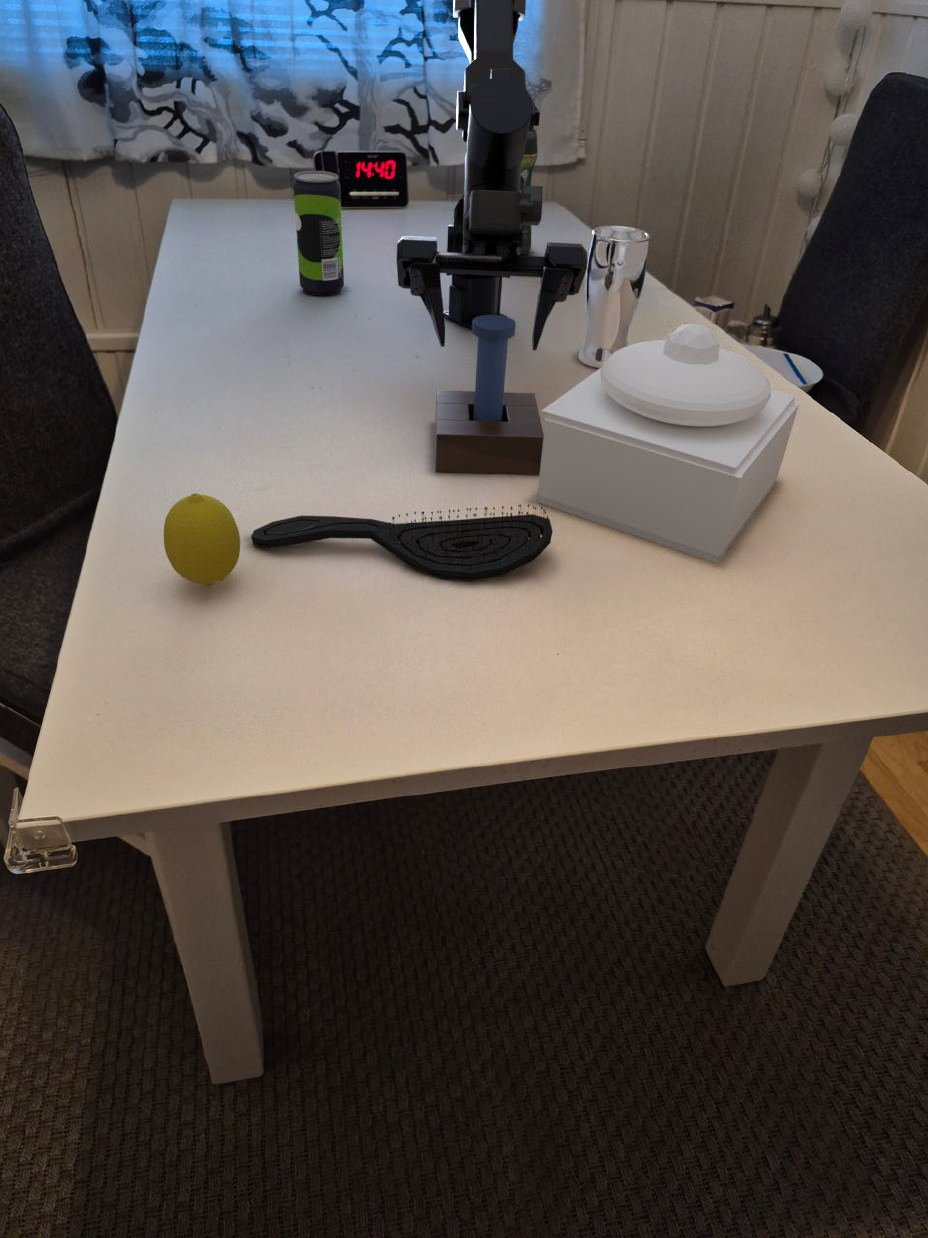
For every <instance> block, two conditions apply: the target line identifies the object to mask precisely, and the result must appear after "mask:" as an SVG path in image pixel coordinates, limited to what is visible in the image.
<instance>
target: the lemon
mask: <svg viewBox="0 0 928 1238" xmlns="http://www.w3.org/2000/svg"><path fill="white" fill-rule="evenodd" d="M163 547H164V551H165V554H166V557H167V559H168V562H169V563H170V565H171V567H172V568H173V570H174V572H176V573H177V574H178V575H179V576H181V578H183V579H185V580H187V581H189V582H190V583H191V582H192V583H195V584H198V585H199V584H201V585H205V586H212V585H213V584H215V583H218V582H220V581H222V580H224V579H225V578H227V577H228V576H229V575H230V574H231V573H232V572H233V570H234V569H235V567H236V565H237V564H238V561H239V558H240V554H241V553H240V552H241V536H240V530H239V527H238V526H237V523H236V520H235V518H234V515H233V514H232V512H231V511H230V509H229V508H228V507H227V506H226V505H225V504H224V503H223V502H222V501H220V500H219V499H217V498H215V497H213V496H211V495H207V494H200V493H197V492H194V493H192V494H190V495H188V496H185V497H183V498H181V499H179V500H178V501H177V502H175V503H174V504H173V506H172V507H171V508H170V509H169V510H168V513H167V514H166V517H165V520H164V524H163Z"/></svg>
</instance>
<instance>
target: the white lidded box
mask: <svg viewBox="0 0 928 1238" xmlns="http://www.w3.org/2000/svg"><path fill="white" fill-rule="evenodd" d="M720 344H721V343H720V341H719V340H718V338H717V336H716V335H715V334H714V332H713V331H712V330H711V328H708V327H707V326H705V325H703V324H702V323H683V324H681V325H680V326H679V327H678V328H676V329H675V330H673V331H672V332H671V333H669V334H668V336H667V338H666V339H659V340H658V339H656V340H655V339H654V340H647V341H641V342H636V343H633V344H630V345H627V347H624V348H621V349H620V350H618V351H616V352H614V353H613V354H612V355H610V356H609V357H608V358H607V359H606V360H605V361H604V363H603V365H602V367H601V368H598V369H597V370H596V371H594V372H592V374H590V375H589V376H587V377H586V378H584V380H582V381H581V382H579V383H578V384H576V385H575V386H574V387H572V388H571V389H570V390H568V391H567V392H565V393H564V394H563V395H561V396H560V397H558V398H557V399H555V400H554V401H552V402H551V403H550V404H549V405H547V406H546V407H544V408H543V409H542V410H541V414H540V420H545V422H544V428H543V429H544V430H543V434H544V438H543V448H542V457H541V466H540V475H539V476H538V485H537V493H536V494H537V495H536V503H539V504H541V505H544V506H546V507H547V506H548V507H550V508H553V509H556V510H559V511H561V512H564V513H567V514H571V515H574V516H577V517H579V518H582V519H586V520H588V521H591V522H594V523H597V524H600V525H603V526H606V527H609V528H612V529H613V530H614V529H615V530H618V531H619V532H623V533H626V534H629V535H632V536H635V537H637V538H640V539H643V540H646V541H649V542H652V543H655V544H659V545H661V546H664V547H667V548H670V549H673V550H676V551H678V552H681V553H683V554H687V555H689V556H693V557H697V558H699V559H702V560H705V561H708V562H710V563H713V564H718V563H719V562H720V560H721V559H722V558H723V556H724V555H725V553H726V552H727V551H728V550H729V548H730V547H731V545H733V543H734V541H735V540H736V538H737V537H738V536H739V534H740V533H741V532H742V531H743V529H744V527H745V526H746V525H747V523H748V522H749V520H750V519H751V518H752V516H753V515H754V514H755V512H756V511H757V509H759V507H760V505H761V504H762V503H763V502H764V500H765V498H766V497H767V496H768V495H769V493H770V491H771V490H772V489H773V487H774V486H775V484H776V483H777V480H778V477H779V473H780V470H781V467H782V463H783V460H784V456H785V453H786V450H787V446H788V444H789V441H790V440H789V439H790V436H791V433H792V430H793V426H794V423H795V419H796V416H797V413H798V409H799V406H800V404H798V403H795V399H796V395H794V394H790V393H786V392H782V391H778V390H774V389H771V386H772V385H771V383H770V381H769V379H768V378H767V376H766V374H765V373H764V372H763V370H762V369H761V368H759V367H758V366H757V365H756V364H754V363H753V362H752V361H750V360H749V359H747V358H745V357H744V356H742V355H740V354H738V353H736V352H734V351H731V350H728V349H725V348H722V347H721V346H720Z"/></svg>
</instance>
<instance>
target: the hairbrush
mask: <svg viewBox="0 0 928 1238" xmlns="http://www.w3.org/2000/svg"><path fill="white" fill-rule="evenodd" d="M517 506H518V508H519V510H518V514H517V515H516V514H515V515H513V513H512V510H513V506H511V507H510V510H511V512H510V515H508V514H509V513H508V512H506V515H505V516H504V511H502V512H501V516H495V514H496V513H495V512H493V513H492V512H490V513H489V515H490V517H489V516H488V506H484V511H485V512H484V515H483V516H485V517H477V513H473V517H475V518H468V513H466V514H465V517H466V518H464V519H459V514H457V515H456V518H457V519H453V520H452V519H450V517H451V509H448V516H447V518H448V520H443V516H442V515H440V516H439V518H438V520H433V517H430V518H429V519H430V521H427V516H425V511H424V510H423V511H421V515H422V517H421V521H418V522H417V519H416V518H414V520H413V521H414V522H413V521H412V520H410V522H403V523H401V522H400V523H393V522H391V521H389V522H388V521H384V520H383V521H382V520H378V519H375V518H374V519H373V518H364V517H363V518H362V517H347V516H335V515H333V516H332V515H297V516H293V517H289V518H288V517H287V518H283V519H279V520H274V521H271V522H269V523H266V524H265V525H262V526H261V527H258V528H256V529H254V530H253V531H252V533H251V535H250V537H251V541H252V545H253V546H254V547H255V546H256V547H260V548H265V549H274V548H282V547H287V546H293V545H294V546H295V545H301V544H307V543H311V542H317V541H322V540H323V541H324V540H328V539H358V540H359V539H361V540H363V539H365V540H366V539H367V540H371V541H372V542H374V543H376V545H379V546H380V547H381V548H383V549H385V550H386V551H387V552H389V554H391V555H393V556H395V557H396V558H398V559H399V560H400V561H402V562H403V563H405V564H406V565H407V566H409V567H411V568H412V569H413V570H415V571H418V572H421V573H424V574H426V575H429V576H432V577H435V578H438V579H441V580H449V581H461V582H462V581H464V582H474V581H479V580H480V581H481V580H486V579H491V578H498V577H503V576H505V575H507V574H510V573H511V572H513V571H515V570H518V569H519V568H521V567H524V566H526V565H528V564H530V563H532V562H534V561H535V560H537V558H538V557H539V556H540V555H541V554H542V553H543V552H544V551H545V550H546V549H547V547H548V546H549V545H551V542H552V537H553V526H552V523H551V520H550V518H549V515H547V511H546V509H545V508H543V506H541V507H540V510H541V511H540V512H541V515H538V514H536V512H537V511H536V510H537V506H535V505H532V510H535V513H531V514H529V512H530V511H529V507H530V504H527V509H528V510H527V511H526V514H524V512H523V511H521V507H522V504H521V503H520V504H518V505H517ZM504 507H505V506H504V505H502V506H501V508H502V510H504ZM492 508H493V510H496V509H495V506H493V507H492ZM477 510H478V508H477V507H475V511H477ZM466 511H469V512H471V511H472V508H471V507H467V508H466ZM542 511H543V512H544V516H543V515H542V514H543V512H542ZM452 512H453V513H455V512H456V510H455V509H453V511H452ZM457 512H458V513H459V512H460V509H459V508H458V509H457ZM430 513H431V515H433V514H434V512H433V511H430ZM436 513H437V514H439V513H440V514H442V510H437V511H436ZM408 514H409V513H407V512H406V513H405V516H406V517H408V516H409V515H408ZM413 514H414V515H417V512H416V511H414V513H413ZM492 515H493V516H492ZM397 516H398V517H399V518H400V517H401V515H400V514H398V515H397ZM391 519H392V521H394V520H395V516H392V517H391Z"/></svg>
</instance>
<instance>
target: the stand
mask: <svg viewBox="0 0 928 1238" xmlns="http://www.w3.org/2000/svg"><path fill="white" fill-rule="evenodd" d="M474 402H475V390H474V391H471V390H441V389H437V390H435V416H434V417H435V421H434V439H435V440H434V443H435V444H434V446H435V447H434V448H435V449H434V451H435V452H434V454H435V455H434V456H435V462H434V463H435V464H434V465H435V472H436V473H464V474H499V475H500V474H501V475H535V476H536V475H537V476H538V475H540V466H541V457H542V448H543V438H544V430H543V429H544V428H543V426H542V422H541V415H540V413H539V408H538V404H537V403H538V402H537V399H536V394H535V393H534V392H507V391H506V392H505V391H504V397H503V410H502V422H496V421H473V420H474Z"/></svg>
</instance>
